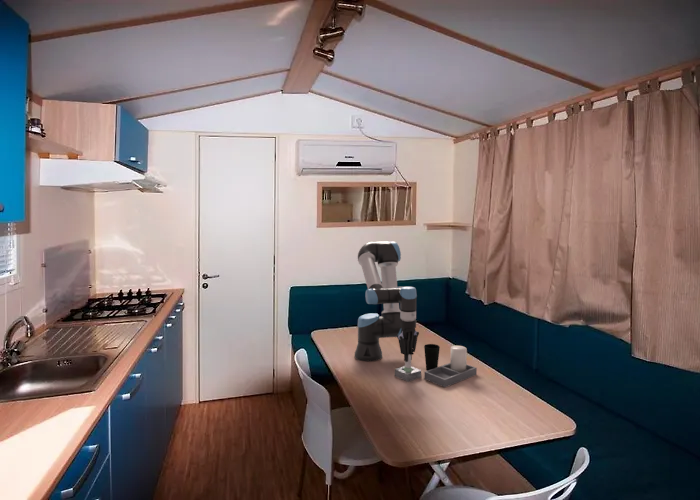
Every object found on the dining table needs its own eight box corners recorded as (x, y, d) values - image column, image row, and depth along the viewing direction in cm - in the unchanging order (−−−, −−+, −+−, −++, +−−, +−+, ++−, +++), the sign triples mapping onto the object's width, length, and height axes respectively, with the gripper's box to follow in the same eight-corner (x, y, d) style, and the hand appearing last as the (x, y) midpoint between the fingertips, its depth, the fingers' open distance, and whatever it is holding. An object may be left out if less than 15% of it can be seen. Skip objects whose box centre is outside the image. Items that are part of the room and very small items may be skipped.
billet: (447, 371, 204) (447, 347, 203) (456, 367, 209) (457, 344, 208) (459, 376, 198) (460, 351, 197) (469, 372, 203) (470, 348, 202)
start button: (402, 374, 201) (402, 367, 200) (407, 372, 203) (407, 365, 203) (407, 376, 198) (407, 369, 197) (413, 375, 200) (413, 367, 200)
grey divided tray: (424, 378, 198) (424, 371, 197) (455, 367, 212) (456, 360, 212) (444, 387, 188) (444, 379, 188) (476, 374, 202) (476, 367, 202)
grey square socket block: (394, 376, 201) (394, 369, 201) (407, 371, 207) (407, 364, 206) (408, 381, 194) (408, 374, 194) (421, 377, 200) (421, 370, 199)
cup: (439, 372, 205) (439, 349, 204) (423, 371, 206) (424, 348, 205) (439, 367, 212) (439, 344, 211) (424, 366, 214) (424, 343, 213)
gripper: (404, 323, 191) (403, 372, 193) (423, 318, 199) (423, 366, 201) (392, 320, 197) (392, 368, 199) (412, 315, 205) (411, 362, 207)
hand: (407, 367), depth 200 cm, fingers closed
